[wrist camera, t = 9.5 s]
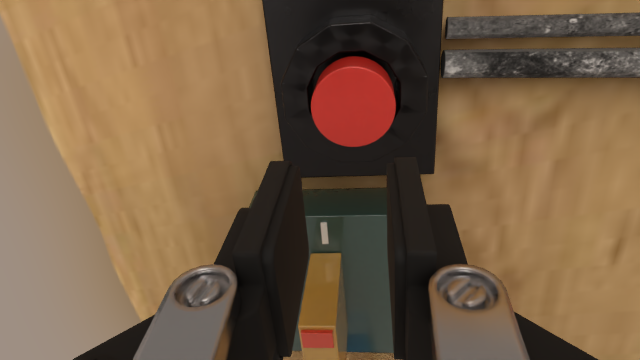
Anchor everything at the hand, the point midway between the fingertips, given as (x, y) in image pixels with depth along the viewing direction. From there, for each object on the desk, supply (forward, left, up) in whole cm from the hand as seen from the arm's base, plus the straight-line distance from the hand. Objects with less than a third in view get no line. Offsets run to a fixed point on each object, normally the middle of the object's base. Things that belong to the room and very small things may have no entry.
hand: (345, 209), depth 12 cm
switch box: (0, 0, -13) cm, 13 cm away
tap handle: (-13, +2, -10) cm, 16 cm away
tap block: (-13, +2, -13) cm, 18 cm away
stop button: (0, 0, -10) cm, 10 cm away
